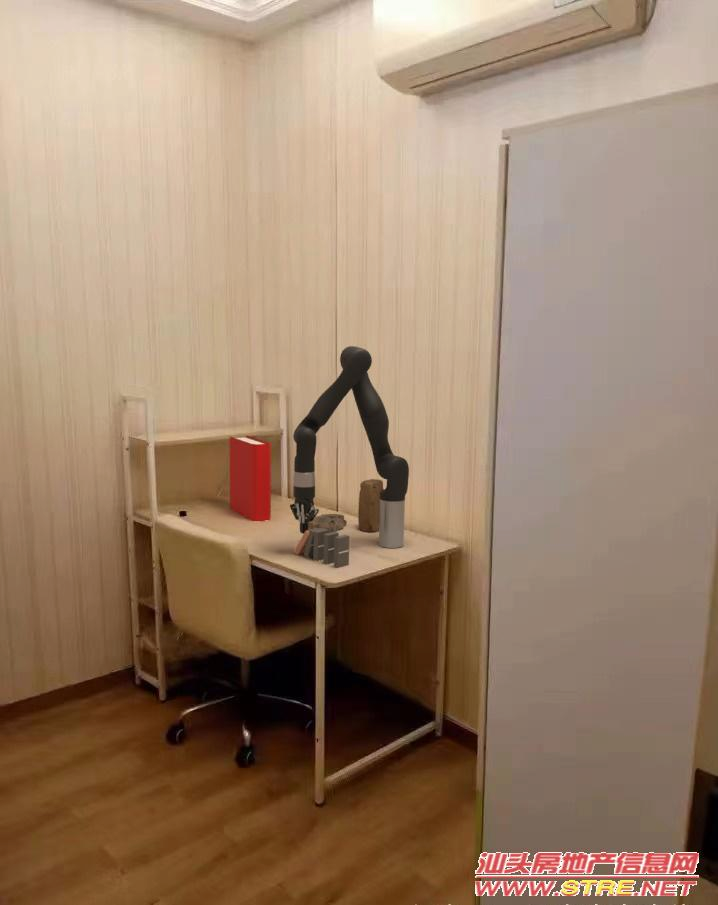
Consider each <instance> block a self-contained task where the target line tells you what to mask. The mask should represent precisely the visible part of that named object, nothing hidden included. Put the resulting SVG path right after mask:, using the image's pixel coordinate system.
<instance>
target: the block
mask: <svg viewBox="0 0 718 905" xmlns="http://www.w3.org/2000/svg"><path fill="white" fill-rule="evenodd" d="M382 490H384V482H383V480H382V479H376V478H371V479H365V480H363V481H361V483H360V490H359V496H358V516H357V517H358V518H357V519H358V520H357V521H358V529H360V530H361V531H363V532H368V533H371V532H373V533H375V532H374V531H376V532H379V531H378V530H379V512H380V492H381V491H382Z"/></svg>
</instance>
